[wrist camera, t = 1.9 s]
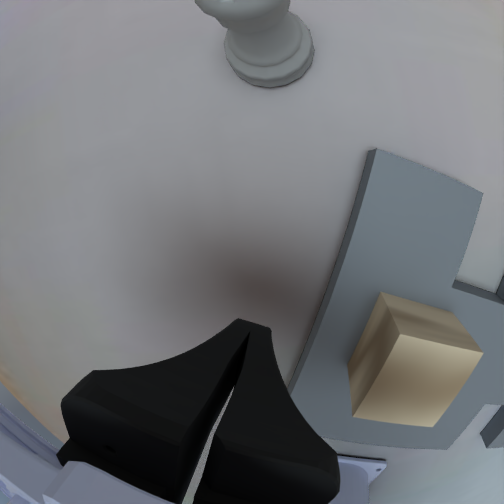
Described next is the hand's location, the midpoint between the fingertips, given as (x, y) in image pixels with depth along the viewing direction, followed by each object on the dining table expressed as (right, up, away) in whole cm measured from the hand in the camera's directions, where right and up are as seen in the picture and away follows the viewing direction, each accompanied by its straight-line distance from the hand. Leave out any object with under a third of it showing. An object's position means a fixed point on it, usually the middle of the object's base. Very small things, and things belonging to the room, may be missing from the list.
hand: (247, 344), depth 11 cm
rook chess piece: (+1, +14, +2) cm, 14 cm away
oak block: (+8, -1, +3) cm, 9 cm away
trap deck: (+16, -3, +4) cm, 17 cm away
